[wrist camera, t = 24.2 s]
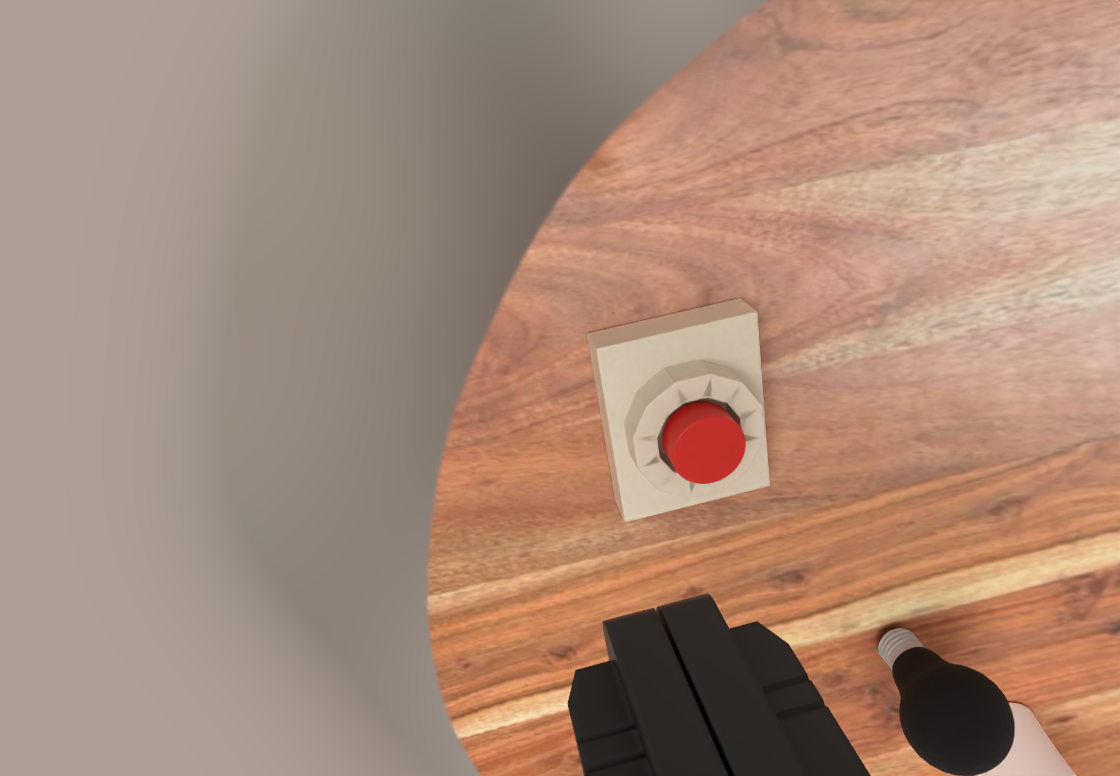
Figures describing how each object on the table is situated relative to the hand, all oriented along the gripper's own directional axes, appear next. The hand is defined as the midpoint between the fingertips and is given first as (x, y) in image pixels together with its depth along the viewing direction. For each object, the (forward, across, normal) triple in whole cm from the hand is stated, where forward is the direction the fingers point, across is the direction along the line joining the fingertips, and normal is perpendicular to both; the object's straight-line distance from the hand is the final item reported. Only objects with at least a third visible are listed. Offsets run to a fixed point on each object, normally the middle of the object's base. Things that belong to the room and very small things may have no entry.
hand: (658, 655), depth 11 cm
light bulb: (+29, -20, +32) cm, 48 cm away
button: (+25, -8, +12) cm, 29 cm away
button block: (+29, -8, +12) cm, 32 cm away
